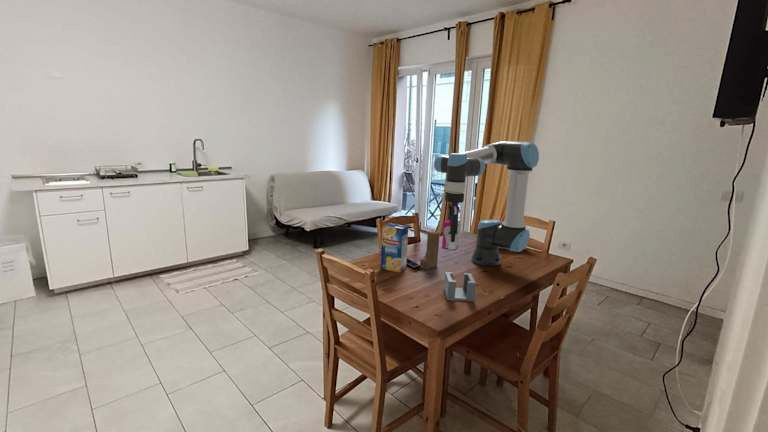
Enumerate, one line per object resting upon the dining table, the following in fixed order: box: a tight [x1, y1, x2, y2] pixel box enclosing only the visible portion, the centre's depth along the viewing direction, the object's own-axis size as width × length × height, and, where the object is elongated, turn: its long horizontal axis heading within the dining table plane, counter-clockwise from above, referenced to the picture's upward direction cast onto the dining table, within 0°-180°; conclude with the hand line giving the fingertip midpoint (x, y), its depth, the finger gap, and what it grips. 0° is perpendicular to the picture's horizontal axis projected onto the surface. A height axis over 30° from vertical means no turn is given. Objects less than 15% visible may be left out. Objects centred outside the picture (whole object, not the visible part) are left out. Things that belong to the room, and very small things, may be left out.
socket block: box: [443, 271, 477, 302], centre depth 155 cm, size 11×11×8 cm
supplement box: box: [441, 219, 462, 252], centre depth 153 cm, size 6×6×12 cm
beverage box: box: [380, 222, 409, 273], centre depth 182 cm, size 7×11×22 cm, turn 62°
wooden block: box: [419, 230, 441, 271], centre depth 187 cm, size 9×4×18 cm, turn 135°
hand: (450, 246), depth 154 cm, fingers closed on supplement box, 7 cm apart
